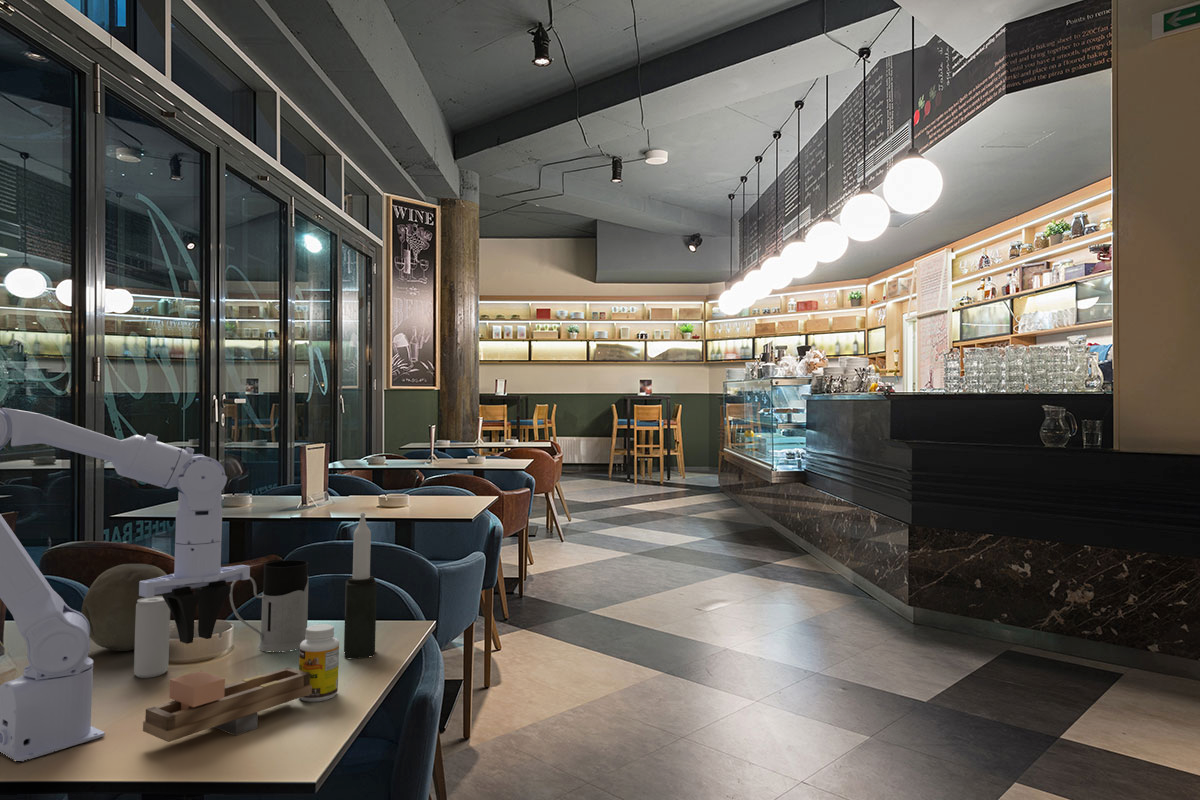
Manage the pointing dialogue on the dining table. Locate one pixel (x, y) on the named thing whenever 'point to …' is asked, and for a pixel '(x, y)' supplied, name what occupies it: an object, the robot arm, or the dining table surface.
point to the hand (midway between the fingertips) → (195, 639)
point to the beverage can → (151, 637)
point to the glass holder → (282, 605)
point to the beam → (229, 706)
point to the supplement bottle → (320, 661)
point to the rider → (196, 689)
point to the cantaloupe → (116, 604)
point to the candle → (360, 598)
